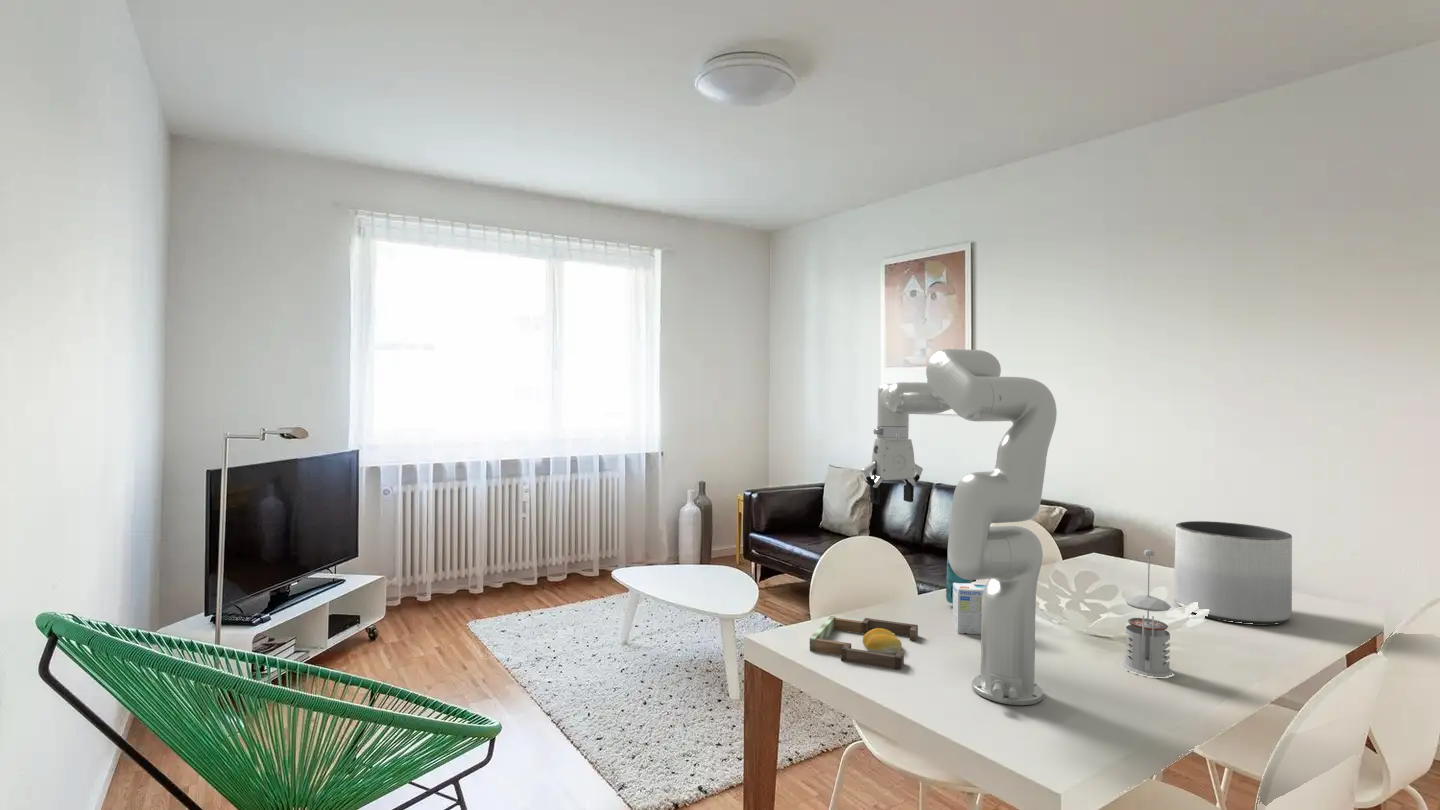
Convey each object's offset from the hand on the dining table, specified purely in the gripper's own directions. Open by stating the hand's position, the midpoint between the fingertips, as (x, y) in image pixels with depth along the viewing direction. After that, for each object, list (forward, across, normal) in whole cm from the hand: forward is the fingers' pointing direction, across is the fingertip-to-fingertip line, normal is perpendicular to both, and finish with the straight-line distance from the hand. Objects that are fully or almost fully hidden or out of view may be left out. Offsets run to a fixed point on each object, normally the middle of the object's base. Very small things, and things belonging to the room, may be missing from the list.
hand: (891, 502), depth 177 cm
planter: (+30, +91, -22) cm, 98 cm away
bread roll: (+30, -12, -15) cm, 36 cm away
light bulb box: (+30, +16, -12) cm, 36 cm away
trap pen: (+30, -15, -12) cm, 35 cm away
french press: (+30, +32, -44) cm, 63 cm away
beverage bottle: (+30, +25, +5) cm, 39 cm away
